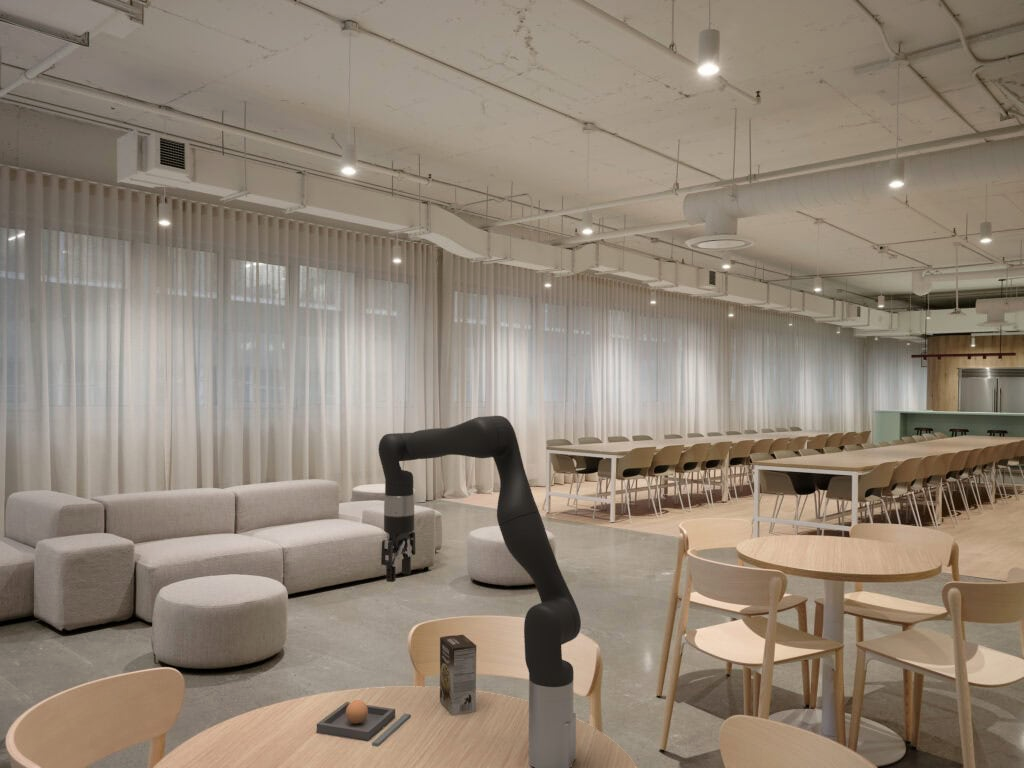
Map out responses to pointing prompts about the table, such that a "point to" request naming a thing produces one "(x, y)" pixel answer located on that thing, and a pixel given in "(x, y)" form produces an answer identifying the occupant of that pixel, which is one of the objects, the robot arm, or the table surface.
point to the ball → (356, 711)
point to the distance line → (391, 730)
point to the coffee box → (457, 674)
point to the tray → (361, 731)
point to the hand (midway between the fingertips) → (398, 577)
